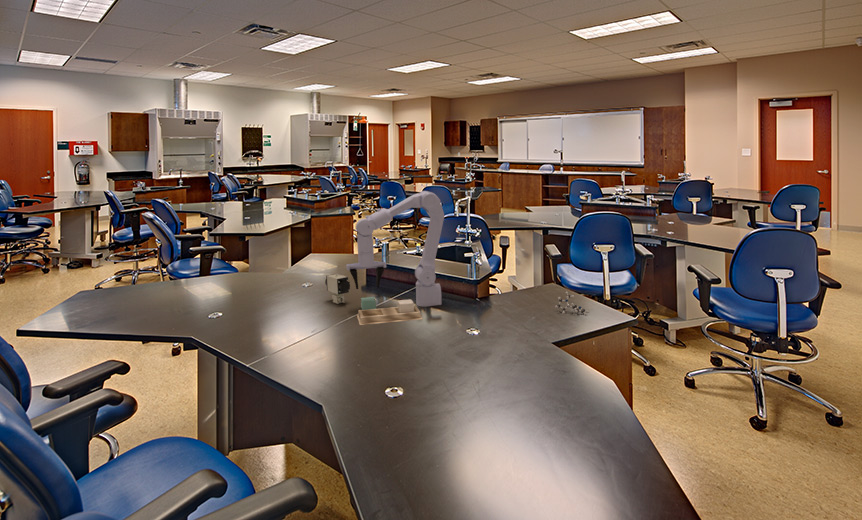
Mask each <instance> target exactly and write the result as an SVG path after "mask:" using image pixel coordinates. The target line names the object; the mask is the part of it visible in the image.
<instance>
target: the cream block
mask: <svg viewBox="0 0 862 520" xmlns="http://www.w3.org/2000/svg"><path fill="white" fill-rule="evenodd" d="M396 303H397V307H398V314H399V313H410V312H414V305H415V303H414V301H413V300H412V299H401V300H397V301H396Z"/></svg>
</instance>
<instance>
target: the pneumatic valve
mask: <svg viewBox="0 0 862 520" xmlns="http://www.w3.org/2000/svg"><path fill="white" fill-rule="evenodd" d="M325 276H326V277H325V281H324V283H325V285H326V291H327V292H331V293H332V296H331V297H332V303H333V304H337V305H339V304H342V303H343V304H344V303H345V295H344V294H348V293H349V291H350V290H351V283H350V281H349V277H348V276H346V275H343V274H342V275H341V274H339V273H333V274H328V275H325Z"/></svg>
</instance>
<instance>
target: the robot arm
mask: <svg viewBox="0 0 862 520" xmlns="http://www.w3.org/2000/svg"><path fill="white" fill-rule="evenodd" d="M441 202H442V201H441V198H439V197H438V195H437V194H435V193H434V192H432V191H428V190H422V191H419V192H418V193H414V194H412V195H411V196H408V197H407V198H405V199H403V200H402V201H400V202H398V203H397V204H395V205H393V206H391V207H390V208H384V207H383V208H377V209H376V211H375V212H374V213H372V214H369V215H365V217H364V218H360V219H358V221H357V222H356V224H355V230H356V232H357V258H358V262H355V263H347V264H346V266H345V267H346V271H349V273H350V274H351V277H352V279H353V280H354V284H355V289H356V290H359V283H358V282H359V281H358V280H359V279H358V270H365V269H366V270H367V269H368V270H369V269H375V274H376V275H375V276H376V279H375V280H376V282H375V284H376V288H380V283H381V279H382V276H383V274H384V271H385V268H387V262H386V261H375V254H374V239H373V232H374V231H377V230H378V229H381V228H382V227H384V226H385V225H388V224H389V223H391V221H392V219H393V218H394V217H396V216H397V215H400V214H401V213H403V212H405V211H407V210H410V209H412V208H414V209H415V208H416V209H423V210H424V211H426V212H425V213H427V215H428V216H429V217H430V218H429V224H428V226H427V227H428V229H427V233H426V235H425V236H426V238H425V241H424V245H423V251H422V255H421V258H420V260H419V262H418V265H417V266H416V268H415V269H414V277H415V278H416V279H417V281H416V282H415V297H416V298H415V299H416V300H415V302H416V303H415V304H416V306H418V307H423V308H424V307H426V308H427V307H432V306H441V305H442V287H441V284H440V283H436V282H435V281H436V278H437V276H436V273H435V272H436V256H437V252H438V250H439V249H438V248H439V243H440V239H441V234H442V231H443V230H442V229H443V226H444V225H443V224H444V220H445V213H444V210H443V207H442V204H441Z"/></svg>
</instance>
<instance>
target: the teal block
mask: <svg viewBox="0 0 862 520" xmlns="http://www.w3.org/2000/svg"><path fill="white" fill-rule="evenodd" d="M360 308H361V310H368V309H377V300H376V298H375V296H372V297H371V296H370V297H361V298H360Z"/></svg>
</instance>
